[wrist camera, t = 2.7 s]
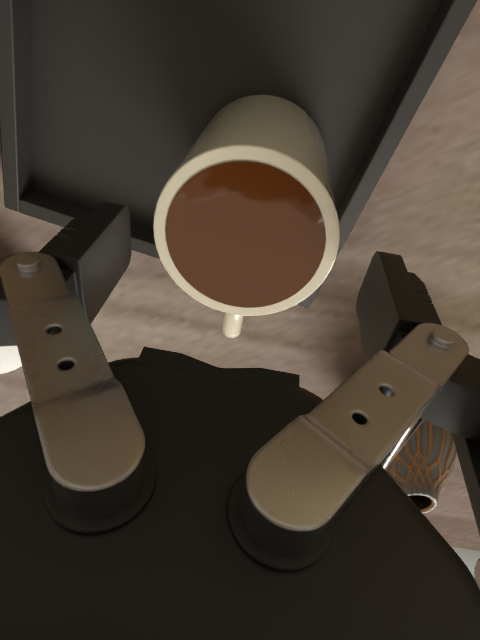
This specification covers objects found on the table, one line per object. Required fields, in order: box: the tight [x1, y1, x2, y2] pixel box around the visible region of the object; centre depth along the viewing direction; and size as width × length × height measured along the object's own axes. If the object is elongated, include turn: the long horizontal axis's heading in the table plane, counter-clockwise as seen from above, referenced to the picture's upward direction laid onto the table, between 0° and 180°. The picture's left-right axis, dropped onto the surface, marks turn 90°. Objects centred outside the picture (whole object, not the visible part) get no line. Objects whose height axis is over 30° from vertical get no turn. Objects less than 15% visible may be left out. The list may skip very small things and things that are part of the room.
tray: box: [0, 0, 477, 308], centre depth 17 cm, size 18×22×2 cm
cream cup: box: [153, 95, 340, 338], centre depth 18 cm, size 9×6×8 cm
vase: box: [386, 420, 457, 513], centre depth 27 cm, size 7×7×9 cm
